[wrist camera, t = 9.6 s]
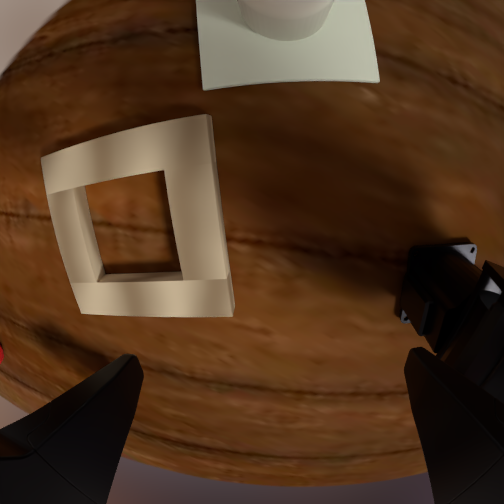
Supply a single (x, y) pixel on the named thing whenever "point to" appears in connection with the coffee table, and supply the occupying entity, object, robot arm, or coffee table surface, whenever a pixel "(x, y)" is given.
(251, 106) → the coffee table surface
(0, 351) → the water bottle
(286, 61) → the mat
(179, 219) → the collar
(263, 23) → the white rounded block
